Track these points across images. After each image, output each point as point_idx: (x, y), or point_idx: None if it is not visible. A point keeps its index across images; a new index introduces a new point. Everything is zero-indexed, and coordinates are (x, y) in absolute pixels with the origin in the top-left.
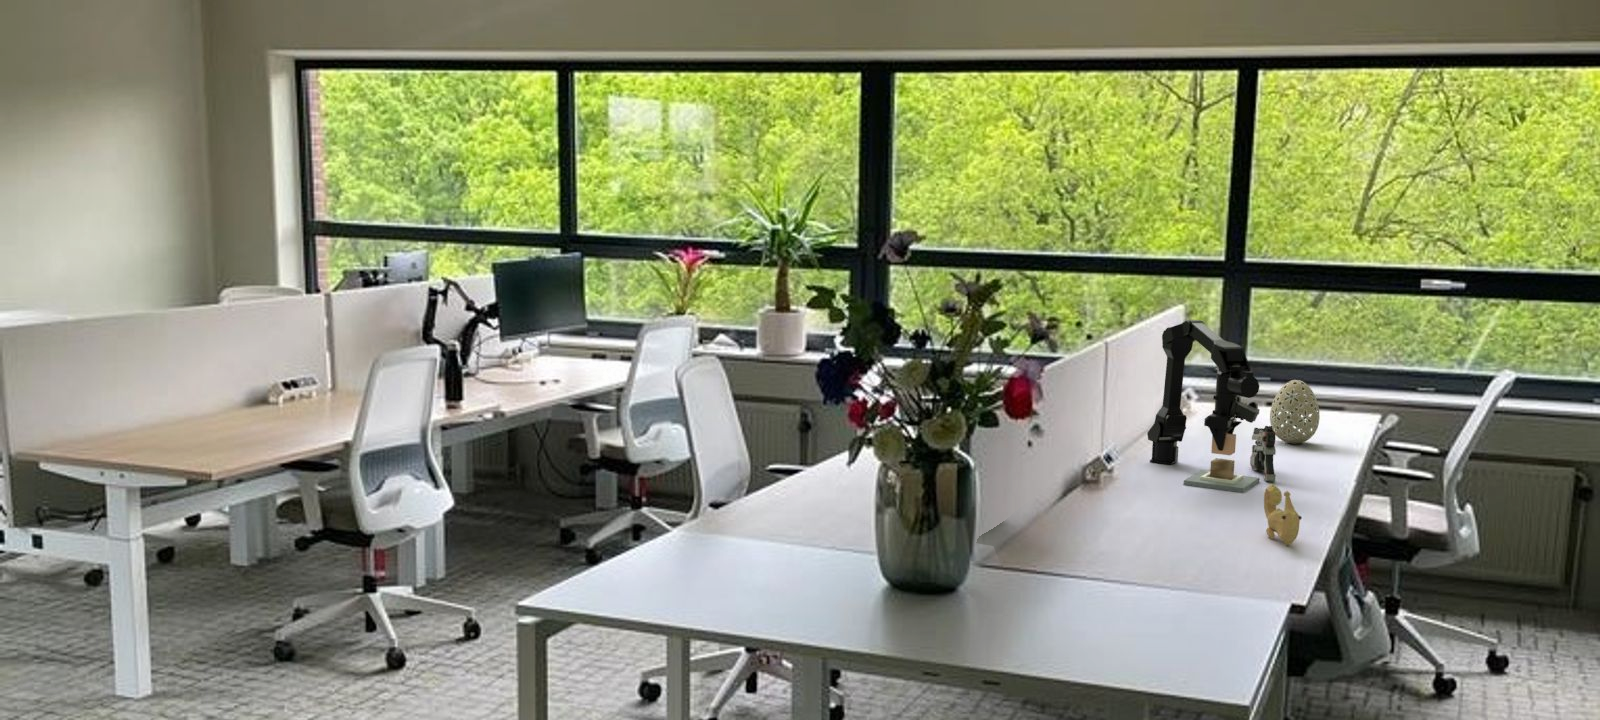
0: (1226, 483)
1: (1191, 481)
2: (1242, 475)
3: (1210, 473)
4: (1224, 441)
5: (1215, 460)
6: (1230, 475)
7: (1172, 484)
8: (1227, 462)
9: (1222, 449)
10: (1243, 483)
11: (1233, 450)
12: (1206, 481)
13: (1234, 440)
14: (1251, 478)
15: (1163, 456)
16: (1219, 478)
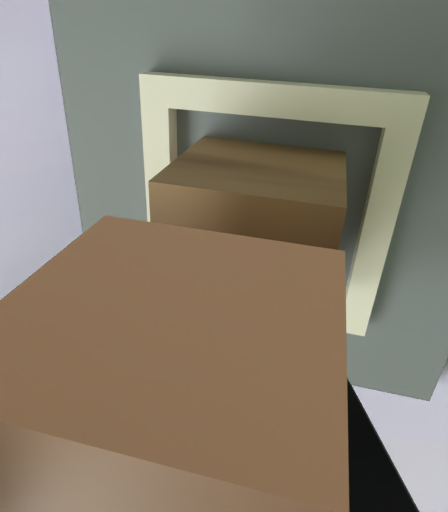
0: (428, 154)
1: (443, 364)
2: (147, 77)
3: None
4: (384, 496)
5: None
6: (290, 157)
7: (442, 423)
8: (302, 232)
9: (350, 385)
10: (362, 15)
11: (167, 245)
12: (411, 289)
13: (73, 331)
14: (113, 2)
15: None
16: (368, 222)
